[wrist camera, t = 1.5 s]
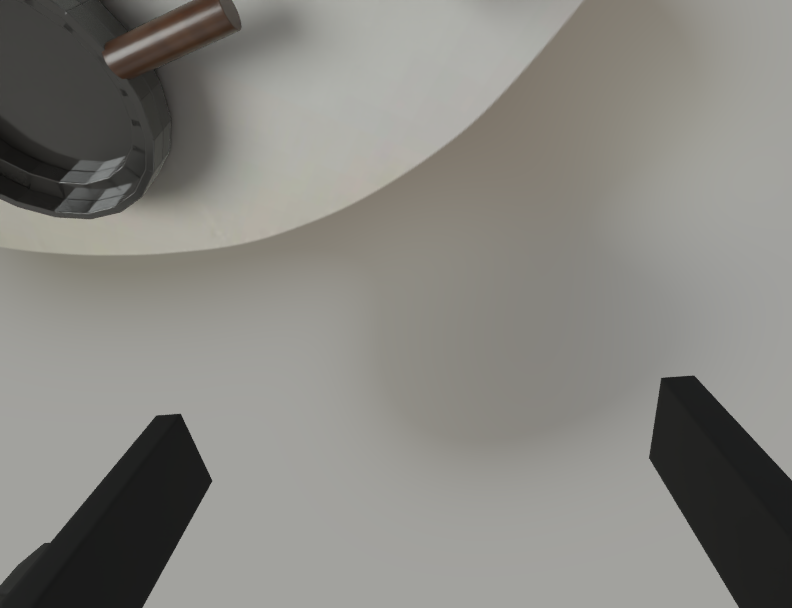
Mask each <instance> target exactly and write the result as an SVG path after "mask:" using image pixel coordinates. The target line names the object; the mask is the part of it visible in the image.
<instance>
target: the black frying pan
mask: <svg viewBox="0 0 792 608" xmlns="http://www.w3.org/2000/svg"><path fill="white" fill-rule="evenodd" d="M127 32H128V31H127V30H126V29H125V28H124V27H123V26H122V25H121V24H120V22H119V21H118V20H117V19H116V18H115V17H114V16H113V15H112V14H111V13H110V12H109V11H108V10H107V9H106V8H105V6H104V5H103V4H102V3H101V2H100V1H99V0H0V199H1V200H4V201H6V202H8V203H10V204H12V205H14V206H17V207H20V208H23V209H27V210H31V211H35V212H38V213H42V214H46V215H50V216H53V217H60V218H79V219H94V218H98V217H103V216H107V215H111V214H115V213H120V212H122V211H123V210H125V209H126V208H127V207H129V206H130V205H132V204H133V203H134V202H136V201H137V200H138V199H140V198H141V197H142V196H143V195H144V193H145V192H146V191H147V189H148V188H149V186H150V185H151V183H152V182H153V181H154V179H155V178H156V176H157V175H158V173H159V172H160V170H161V168H162V166H163V164H164V162H165V160H166V158H167V156H168V154H169V152H170V139H171V116H170V113H169V109H168V106H167V103H166V99H165V96H164V93H163V90H162V86H161V83H160V81H159V78H158V77H157V75H156V73H155V72H154V70H151V71H149V72H147V73H144V74H142V75H140V76H138V77H136V78H133V79H121V78H120V77H118V76H117V75H116V74H115V73H114V72H113V71H112V70H111V69H110V68H109V66H108V65H107V63H106V62H105V60H104V57H103V55H102V51H104V50H105V43H106V42H108V41H110V40H112V39H114V38H116V37H118V36H120V35H122V34H124V33H127Z"/></svg>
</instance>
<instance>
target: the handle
mask: <svg viewBox="0 0 792 608" xmlns="http://www.w3.org/2000/svg"><path fill="white" fill-rule="evenodd" d="M240 30H241V21H240V17H239V14H238V12H237V9H236V7H235V5H234V4H233V2H232V0H193V1H191V2H189V3H187V4H184V5H182V6H180V7H178V8H176V9H174V10H172V11H170V12H168V13H166V14H164V15H162V16H160V17H158V18H155V19H153V20H151V21H149V22H147V23H145V24H143V25H141V26H139V27H137V28H135V29H133V30H131V31H129V32H127V33H124V34H122V35H120V36H118V37H116V38H114V39H112V40H110V41H108V42H106V43H105V50H104V51H102V55H103V57H104V60H105V62H106V63H107V65H108V66H109V68H110V69H111V70H112V71H113V72H114V73H115V74H116V75H117V76H118V77H120V78H121V79H133V78H136V77H138V76H140V75H142V74H144V73H147V72H149V71H151V70H153V69H156V68H158V67H160V66H162V65H164V64H167V63H169V62H171V61H173V60H176V59H178V58H180V57H182V56H184V55H187V54H189V53H191V52H193V51H196V50H198V49H200V48H202V47H204V46H207V45H209V44H211V43H213V42H216V41H218V40H220V39H222V38H224V37H227V36H229V35H231V34H233V33H236V32H238V31H240Z"/></svg>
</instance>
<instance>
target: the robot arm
mask: <svg viewBox="0 0 792 608" xmlns="http://www.w3.org/2000/svg"><path fill="white" fill-rule="evenodd" d="M649 459H650V460H651V462H652V464H653V465H654V467H655V468H656V470H657V472H658V474H659V475H660V477H661V479H662V480H663V482H664V484H665V485H666V487H667V489H668V490H669V492H670V494H671V495H672V497H673V499H674V500H675V502H676V503H677V505H678V507H679V509H680V510H681V512H682V513H683V515H684V517H685V518H686V520H687V522H688V523H689V525H690V527H691V528H692V530H693V532H694V533H695V535H696V537H697V538H698V540H699V542H700V543H701V545H702V547H703V548H704V550H705V552H706V553H707V555H708V557H709V558H710V560H711V562H712V563H713V565H714V567H715V568H716V570H717V572H718V573H719V575H720V577H721V578H722V580H723V582H724V583H725V585H726V587H727V588H728V590H729V592H730V593H731V595H732V596H733V598H734V600H735V602H736V603H737V605H738V607H739V608H792V480H791V479H790V478H789V477H788V476H787V475H786V474H785V473H784V472H783V471H782V470H781V468H779V466H778V465H777V464H776V463H775V462H774V461H773V460H772V459H771V458H770V457H769V456H768V454H767V453H766V452H765V451H764V450H763V449H762V448H761V447H760V446H759V445H758V444H757V443H756V442H755V441H754V440H753V438H752V437H751V436H750V435H749V434H748V433H747V432H746V431H745V430H744V429H743V428H742V427H741V425H740V424H739V423H738V422H737V421H736V420H735V419H734V418H733V417H732V416H731V415H730V414H729V413H728V412H727V411H726V409H725V408H724V407H723V406H722V405H721V404H720V403H719V402H718V401H717V400H716V399H715V398H714V397H713V395H712V394H711V393H710V392H709V391H708V390H707V389H706V388H705V387H704V386H703V385H702V384H701V383H700V381H699V380H698V379H697V378H696V377H695V376H682V377H668V378H661V384H660V391H659V397H658V404H657V410H656V417H655V423H654V429H653V437H652V442H651V449H650V456H649ZM211 482H212V479H211V477H210V475H209V473H208V471H207V469H206V467H205V464H204V462H203V460H202V458H201V456H200V454H199V452H198V450H197V448H196V445H195V443H194V441H193V439H192V437H191V435H190V433H189V430H188V428H187V427H186V424H185V422H184V420H183V418H182V416H181V414H173V415H158V416H156V417H155V418H154V419H153V420H152V422H151V423H150V424H149V425H148V426H147V428H146V429H145V430H144V431H143V432H142V434H141V435H140V436H139V437H138V439H137V440H136V441H135V442H134V443H133V444H132V446H131V447H130V448H129V449H128V450H127V452H126V453H125V454H124V456H122V458H121V459H120V460H119V461H118V462H117V464H116V465H115V466H114V467H113V468H112V470H111V471H110V472H109V473H108V474H107V476H106V477H105V478H104V479H103V480H102V482H101V483H100V484H99V485H98V486H97V488H96V489H95V490H94V491H93V492H92V494H91V495H90V496H89V497H88V498H87V500H86V501H85V502H84V503H83V504H82V506H81V507H80V508H79V509H78V510H77V512H76V513H75V514H74V515H73V516H72V518H71V519H70V520H69V521H68V522H67V524H66V525H65V526H64V527H63V528H62V530H61V531H60V532H59V533H58V534H57V536H56V537H55V538H54V539H53V540H52V541H51V543H44V544H43V545H42V546H40V547H39V548H38V549H37V550H36V551H34V552H33V553H32V554H31V555H30V556H28V557H27V558H26V559H25V560H24V561H22V562H21V563H20V564H19V565H18V566H17V567H16V568H15V569H14V570H13V571H12V573H11V574H10V575H9V576H8V577H7V578H6V579H5V581H4V582H3V583H2V584H1V585H0V608H142V607H143V606H144V604H145V602H146V600H147V598H148V596H149V594H150V593H151V591H152V589H153V587H154V586H155V584H156V582H157V580H158V578H159V576H160V575H161V573H162V571H163V569H164V567H165V566H166V564H167V562H168V560H169V558H170V556H171V555H172V553H173V551H174V549H175V548H176V546H177V544H178V542H179V540H180V539H181V537H182V535H183V533H184V531H185V529H186V527H187V526H188V524H189V522H190V520H191V519H192V517H193V515H194V513H195V511H196V510H197V508H198V506H199V504H200V502H201V500H202V499H203V497H204V495H205V493H206V491H207V490H208V488H209V486H210V484H211Z"/></svg>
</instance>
